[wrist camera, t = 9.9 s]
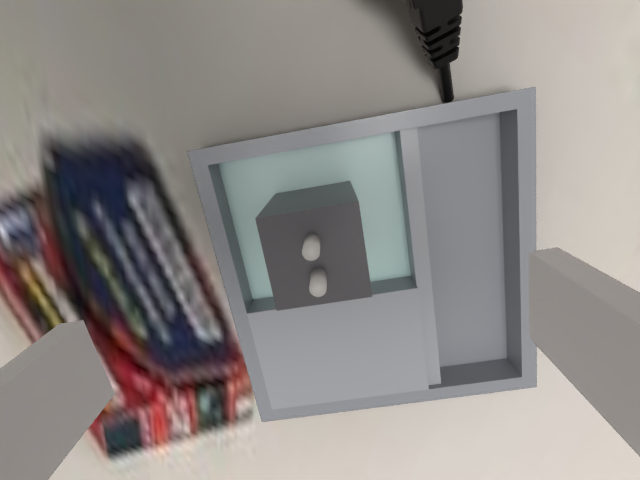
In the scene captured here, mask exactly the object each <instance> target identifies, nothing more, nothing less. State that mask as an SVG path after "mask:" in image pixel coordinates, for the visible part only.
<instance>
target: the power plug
mask: <svg viewBox="0 0 640 480" xmlns="http://www.w3.org/2000/svg"><path fill="white" fill-rule="evenodd" d="M406 1H407V5H408V10H409V13H410V17H411V20H412V22H413V24H414V25H415V26H416V27H415V30H416V33H417V34H418V35H419V37H418V38H419V40H420V43H421V44H422V48H423V51H424V52H425V53H426V54H425V56H426V59H427V61H428V63H429V64H430V65H431V66H432V67H433V68H434V69H438V73H439V80H440V86H441V93H442V99H443V102H446V103H448V102H451V101H452V100H453V99H454V95H453V87H452V79H451V71H450V62H452V61H454V60H456V59H457V58H458V53H459V47H457V46H458V45H459V42H460V38H459V37H458V36H459V35H460V31H461V27H459V25H460V24H461V20H462V17H461V16H460V14H461V13H462V9H463V4H462V0H406Z"/></svg>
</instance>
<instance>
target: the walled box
mask: <svg viewBox="0 0 640 480" xmlns="http://www.w3.org/2000/svg"><path fill="white" fill-rule="evenodd" d="M187 153H188V156H189V160H190V164H191V167H192V171H193V174H194V178H195V182H196V185H197V189H198V193H199V196H200V200H201V203H202V207H203V211H204V214H205V218H206V222H207V225H208V229H209V232H210V236H211V240H212V243H213V247H214V251H215V254H216V258H217V261H218V265H219V269H220V272H221V276H222V280H223V283H224V287H225V290H226V294H227V298H228V301H229V305H230V309H231V312H232V316H233V319H234V323H235V327H236V330H237V334H238V338H239V341H240V345H241V348H242V352H243V356H244V359H245V363H246V367H247V370H248V374H249V377H250V381H251V385H252V388H253V392H254V396H255V399H256V403H257V406H258V410H259V414H260V417H261V421H262V422H267V421H275V420H283V419H290V418H298V417H306V416H314V415H322V414H330V413H337V412H345V411H353V410H361V409H369V408H376V407H384V406H392V405H400V404H408V403H416V402H423V401H431V400H439V399H447V398H455V397H463V396H470V395H478V394H486V393H494V392H502V391H510V390H517V389H525V388H533V387H537V345H536V344H535V343H534V342H533V341H532V340H531V339H530V338H529V252H532V251H536V87H531V88H525V89H520V90H515V91H509V92H504V93H498V94H493V95H488V96H482V97H477V98H471V99H466V100H461V101H455V102H450V103H445V104H439V105H434V106H428V107H423V108H418V109H412V110H407V111H401V112H396V113H391V114H385V115H380V116H375V117H369V118H364V119H358V120H353V121H348V122H342V123H337V124H332V125H326V126H321V127H315V128H310V129H305V130H299V131H294V132H288V133H283V134H278V135H272V136H267V137H262V138H256V139H251V140H245V141H240V142H235V143H229V144H224V145H218V146H213V147H208V148H202V149H197V150H192V151H187ZM345 181H350V182H351V184H352V186H353V189H354V191H355V193H356V196H357V198H358V201H359V206H360V213H361V220H362V227H363V234H364V241H365V248H366V255H367V262H368V269H369V276H370V282H371V289H372V296H373V297H368V298H361V299H354V300H348V301H341V302H334V303H327V304H320V305H314V306H307V307H300V308H293V309H286V310H280V311H277V310H276V306H275V302H274V297H273V293H272V289H271V285H270V280H269V276H268V272H267V267H266V263H265V259H264V254H263V250H262V246H261V241H260V237H259V233H258V228H257V224H256V220H255V218H256V217H257V216H258V214H259V213H260V212H261V211H262V209H263V208H264V207H265V206H266V204H267V203H268V202H269V201H270V200H271V198H272V197H273V196H274V195H275V193H281V192H287V191H293V190H298V189H304V188H310V187H316V186H322V185H328V184H334V183H339V182H345Z"/></svg>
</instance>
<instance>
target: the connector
mask: <svg viewBox="0 0 640 480" xmlns="http://www.w3.org/2000/svg"><path fill="white" fill-rule="evenodd" d="M255 220H256V224H257V228H258V233H259V237H260V241H261V246H262V250H263V254H264V259H265V263H266V267H267V272H268V276H269V280H270V285H271V289H272V293H273V297H274V302H275V306H276V310H277V311H280V310H286V309H293V308H300V307H307V306H314V305H320V304H327V303H334V302H341V301H348V300H354V299H361V298H368V297H373V296H372V289H371V282H370V276H369V269H368V262H367V255H366V248H365V241H364V234H363V227H362V220H361V213H360V206H359V201H358V198H357V196H356V193H355V191H354V189H353V186H352V184H351V182H350V181H345V182H339V183H334V184H328V185H322V186H316V187H310V188H304V189H298V190H293V191H287V192H281V193H275V195H274V196H273V197H272V198H271V200H270V201H269V202H268V203H267V204H266V206H265V207H264V208H263V209H262V211H261V212H260V213H259V214H258V216H257V217H256V218H255Z"/></svg>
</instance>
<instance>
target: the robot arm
mask: <svg viewBox="0 0 640 480" xmlns="http://www.w3.org/2000/svg"><path fill="white" fill-rule="evenodd" d="M529 338H530V339H531V340H532V341H533V342H534V343H535V344H536V345H537V347H538V348H539V349H540V350H541V351H542V352H543V353H544V354H545V355H546V356H547V357H548V358H549V359H550V361H551V362H552V363H553V364H554V365H555V366H556V367H557V368H558V369H559V370H560V371H561V372H562V373H563V375H564V376H565V377H566V378H567V379H568V380H569V381H570V382H571V383H572V384H573V385H574V386H575V387H576V388H577V390H578V391H579V392H580V393H581V394H582V395H583V396H584V397H585V398H586V399H587V400H588V401H589V402H590V404H591V405H592V406H593V407H594V408H595V409H596V410H597V411H598V412H599V413H600V414H601V415H602V416H603V418H604V419H605V420H606V421H607V422H608V423H609V424H610V425H611V426H612V427H613V428H614V429H615V430H616V432H617V433H618V434H619V435H620V436H621V437H622V438H623V439H624V440H625V441H626V442H627V443H628V444H629V446H630V447H631V448H632V449H633V450H634V451H635V452H636V453H637V454H638V455H639V456H640V293H639V292H638V291H636V290H634V289H632V288H630V287H629V286H627V285H625V284H623V283H621V282H620V281H618V280H616V279H614V278H612V277H610V276H609V275H607V274H605V273H603V272H601V271H600V270H598V269H596V268H594V267H592V266H590V265H589V264H587V263H585V262H583V261H581V260H580V259H578V258H576V257H574V256H572V255H571V254H569V253H567V252H565V251H563V250H561V249H560V248H551V249H545V250H538V251H532V252H529ZM114 394H115V393H114V391H113V388H112V386H111V384H110V381H109V379H108V377H107V375H106V372H105V370H104V368H103V365H102V363H101V361H100V358H99V356H98V354H97V351H96V349H95V347H94V344H93V342H92V340H91V337H90V335H89V333H88V331H87V328H86V326H85V324H84V321H83V320H82V321H75V322H69V323H62V324H59V325H57V326H56V327H55V328H53V329H52V330H51V331H49V332H48V333H47V334H46V335H44V336H43V337H42V338H40V339H39V340H38V341H36V342H35V343H34V344H32V345H31V346H30V347H28V348H27V349H26V350H24V351H23V352H22V353H20V354H19V355H18V356H17V357H15V358H14V359H13V360H11V361H10V362H9V363H7V364H6V365H5V366H3V367H2V368H1V369H0V480H48V479H49V478H50V477H51V475H52V474H53V473H54V471H55V470H56V469H57V468H58V466H59V465H60V464H61V462H62V461H63V460H64V459H65V457H66V456H67V455H68V453H69V452H70V451H71V450H72V448H73V447H74V446H75V444H76V443H77V442H78V441H79V439H80V438H81V437H82V435H83V434H84V433H85V432H86V430H87V429H88V428H89V426H90V425H91V424H92V423H93V421H94V420H95V419H96V417H97V416H98V415H99V414H100V412H101V411H102V410H103V408H104V407H105V406H106V405H107V403H108V402H109V401H110V399H111V398H112V397H113V396H114Z"/></svg>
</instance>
